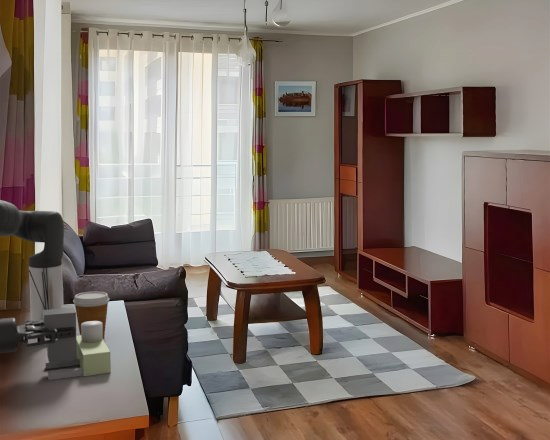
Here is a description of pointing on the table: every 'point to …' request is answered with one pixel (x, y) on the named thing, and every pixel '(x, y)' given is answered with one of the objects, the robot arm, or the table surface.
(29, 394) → the table surface
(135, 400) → the table surface
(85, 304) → the disposable coffee cup
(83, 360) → the pale green boxy piece
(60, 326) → the grey lidded box
